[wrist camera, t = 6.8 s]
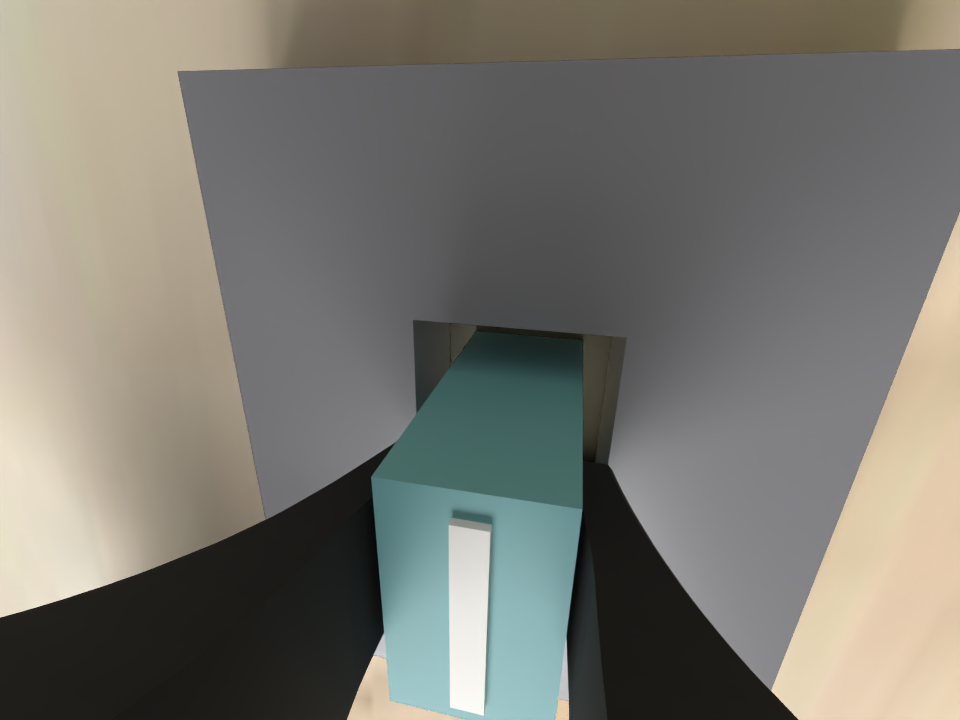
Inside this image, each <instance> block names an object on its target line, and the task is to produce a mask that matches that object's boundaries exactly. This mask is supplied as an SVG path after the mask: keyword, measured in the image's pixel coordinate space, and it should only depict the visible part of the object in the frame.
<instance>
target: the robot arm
mask: <svg viewBox="0 0 960 720" xmlns="http://www.w3.org/2000/svg"><path fill="white" fill-rule="evenodd" d="M395 443H396V442H395ZM395 443H394V444H395ZM394 444H392V445H391V446H389V447H387V448H386V449H384V450H383V451H381V452H380V453H378V454H377V455H375V456H373V457H372V458H370V459H369V460H367V461H366V462H364V463H363V464H361V465H359V466H358V467H356V468H355V469H353V470H352V471H350V472H348V473H347V474H345V475H344V476H342V477H340V478H339V479H337V480H336V481H334V482H332V483H331V484H329V485H327V486H326V487H324V488H322V489H320V490H319V491H317V492H315V493H313V494H312V495H310V496H308V497H306V498H305V499H303V500H301V501H299V502H298V503H296V504H294V505H292V506H291V507H289V508H287V509H285V510H284V511H282V512H280V513H278V514H276V515H274V516H272V517H270V518H268V519H266V520H264V521H262V522H260V523H258V524H256V525H254V526H252V527H250V528H248V529H246V530H243V531H241V532H239V533H237V534H235V535H233V536H231V537H229V538H226V539H224V540H222V541H220V542H217V543H215V544H213V545H210V546H208V547H205V548H203V549H200V550H198V551H195V552H193V553H190V554H188V555H186V556H183V557H181V558H178V559H176V560H173V561H171V562H168V563H166V564H163V565H161V566H158V567H156V568H153V569H151V570H148V571H145V572H143V573H140V574H137V575H134V576H131V577H129V578H126V579H123V580H120V581H117V582H114V583H112V584H109V585H106V586H103V587H100V588H97V589H94V590H91V591H88V592H84V593H81V594H78V595H75V596H72V597H69V598H66V599H63V600H60V601H56V602H53V603H50V604H47V605H43V606H40V607H37V608H33V609H30V610H26V611H23V612H19V613H16V614H12V615H8V616H5V617H1V618H0V720H347V717H348V715H349V712H350V709H351V707H352V704H353V702H354V699H355V696H356V694H357V691H358V688H359V686H360V684H361V681H362V679H363V677H364V675H365V672H366V670H367V668H368V665H369V663H370V661H371V659H372V657H373V655H374V653H375V651H376V649H377V646H378V644H379V642H380V640H381V638H382V636H383V634H384V624H383V612H382V600H381V588H380V576H379V564H378V553H377V541H376V529H375V517H374V505H373V493H372V481H371V476H372V475H373V474H374V472H375V471H376V469H377V468H378V467H379V465H380V464H381V463H382V461H383V460H384V458H385V457H386V456H387V454H388V453H389V451H390V450H391V449H392V447H393V446H394ZM566 641H567V666H568V691H569V720H798V719H797V718H796V717H795V716H794V715H793V714H792V713H791V711H790V710H789V709H788V708H787V707H786V706H785V705H784V704H783V703H782V702H781V701H780V700H779V699H778V698H777V697H776V696H775V695H774V694H773V693H772V692H771V690H770V689H769V688H768V687H767V686H766V685H765V684H764V683H763V682H762V681H761V680H760V679H759V678H758V677H757V676H756V675H755V674H754V673H753V672H752V670H751V669H750V668H749V667H748V666H747V665H746V664H745V662H744V661H743V660H742V659H741V658H740V657H739V656H738V654H737V653H736V652H735V651H734V650H733V649H732V648H731V646H730V645H729V644H728V643H727V642H726V641H725V639H724V638H723V637H722V636H721V635H720V633H719V632H718V631H717V630H716V628H715V627H714V626H713V625H712V624H711V622H710V621H709V620H708V619H707V617H706V616H705V615H704V614H703V612H702V611H701V610H700V609H699V607H698V606H697V605H696V603H695V602H694V601H693V600H692V598H691V597H690V596H689V594H688V593H687V592H686V590H685V589H684V588H683V586H682V585H681V583H680V582H679V581H678V579H677V578H676V576H675V575H674V574H673V572H672V571H671V569H670V568H669V566H668V565H667V564H666V562H665V561H664V559H663V558H662V556H661V555H660V553H659V552H658V550H657V549H656V547H655V546H654V544H653V542H652V541H651V539H650V538H649V536H648V534H647V533H646V531H645V530H644V528H643V526H642V525H641V523H640V522H639V520H638V518H637V516H636V515H635V513H634V511H633V510H632V508H631V506H630V504H629V502H628V500H627V499H626V497H625V495H624V493H623V491H622V489H621V487H620V485H619V483H618V481H617V479H616V477H615V475H614V472H613V470H612V469H611V468H610V466H609V465H608V464H601V463H594V462H587V461H583V510H582V517H581V525H580V533H579V541H578V548H577V556H576V564H575V572H574V579H573V587H572V595H571V603H570V610H569V618H568V626H567V634H566Z"/></svg>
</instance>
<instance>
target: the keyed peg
mask: <svg viewBox="0 0 960 720" xmlns="http://www.w3.org/2000/svg"><path fill="white" fill-rule="evenodd" d="M371 481H372V493H373V505H374V517H375V529H376V541H377V553H378V564H379V576H380V588H381V600H382V612H383V624H384V636H385V648H386V659H387V671H388V683H389V695H390V701H393V702H397V703H401V704H405V705H409V706H413V707H417V708H421V709H425V710H429V711H433V712H437V713H441V714H445V715H449V716H453V717H457V718H461V719H465V720H555V719H556V711H557V703H558V696H559V688H560V680H561V672H562V665H563V657H564V649H565V641H566V634H567V626H568V618H569V610H570V603H571V595H572V587H573V579H574V572H575V564H576V556H577V548H578V541H579V533H580V525H581V517H582V510H583V340H572V339H560V338H549V337H537V336H525V335H513V334H502V333H490V332H478V331H476V332H475V333H474V335H473V336H472V337H471V339H470V340H469V342H468V343H467V344H466V346H465V347H464V348H463V350H462V351H461V353H460V354H459V355H458V357H457V358H456V360H455V361H454V362H453V364H452V365H451V367H450V368H449V369H448V371H447V372H446V374H445V375H444V376H443V378H442V379H441V380H440V382H439V383H438V385H437V386H436V387H435V389H434V390H433V392H432V393H431V394H430V396H429V397H428V399H427V400H426V401H425V403H424V404H423V406H422V407H421V408H420V410H419V411H418V412H417V414H416V415H415V417H414V418H413V419H412V421H411V422H410V424H409V425H408V426H407V428H406V429H405V431H404V432H403V433H402V435H401V436H400V437H399V439H398V440H397V442H396V443H395V444H394V446H393V447H392V449H391V450H390V451H389V453H388V454H387V456H386V457H385V458H384V460H383V461H382V463H381V464H380V465H379V467H378V468H377V469H376V471H375V472H374V474H373V475H372V476H371Z"/></svg>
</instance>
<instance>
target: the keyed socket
mask: <svg viewBox="0 0 960 720" xmlns="http://www.w3.org/2000/svg"><path fill="white" fill-rule="evenodd" d="M178 76H179V81H180V86H181V91H182V96H183V102H184V107H185V112H186V117H187V122H188V127H189V132H190V137H191V142H192V147H193V152H194V158H195V163H196V168H197V173H198V178H199V183H200V188H201V193H202V198H203V203H204V208H205V214H206V219H207V224H208V229H209V234H210V239H211V244H212V249H213V254H214V259H215V264H216V270H217V275H218V280H219V285H220V290H221V295H222V300H223V305H224V310H225V315H226V320H227V326H228V331H229V336H230V341H231V346H232V351H233V356H234V361H235V366H236V371H237V376H238V382H239V387H240V392H241V397H242V402H243V407H244V412H245V417H246V422H247V427H248V432H249V438H250V443H251V448H252V453H253V458H254V463H255V468H256V473H257V478H258V483H259V488H260V494H261V499H262V504H263V509H264V514H265V519H268V518H270V517H272V516H274V515H276V514H278V513H280V512H282V511H284V510H285V509H287V508H289V507H291V506H292V505H294V504H296V503H298V502H299V501H301V500H303V499H305V498H306V497H308V496H310V495H312V494H313V493H315V492H317V491H319V490H320V489H322V488H324V487H326V486H327V485H329V484H331V483H332V482H334V481H336V480H337V479H339V478H340V477H342V476H344V475H345V474H347V473H348V472H350V471H352V470H353V469H355V468H356V467H358V466H359V465H361V464H363V463H364V462H366V461H367V460H369V459H370V458H372V457H373V456H375V455H377V454H378V453H380V452H381V451H383V450H384V449H386V448H387V447H389V446H391V445H392V444H394V443H395V442H397V440H398V439H399V437H400V436H401V435H402V433H403V432H404V431H405V429H406V428H407V426H408V425H409V424H410V422H411V421H412V419H413V418H414V417H415V415H416V414H417V412H418V411H419V410H420V408H421V407H422V406H423V404H424V403H425V401H426V400H427V399H428V397H429V396H430V394H431V393H432V392H433V390H434V389H435V387H436V386H437V385H438V383H439V382H440V380H441V379H442V378H443V376H444V375H445V374H446V372H447V371H448V369H449V368H450V323H457V324H469V325H481V326H493V327H505V328H518V329H530V330H542V331H554V332H566V333H578V334H590V335H602V336H612V341H611V348H610V356H609V363H608V370H607V378H606V385H605V393H604V400H603V407H602V415H601V422H600V430H599V437H598V444H597V452H596V459H595V463H601V464H608V465H609V466H610V468H611V469H612V470H613V472H614V475H615V477H616V479H617V481H618V483H619V485H620V487H621V489H622V491H623V493H624V495H625V497H626V499H627V500H628V502H629V504H630V506H631V508H632V510H633V511H634V513H635V515H636V516H637V518H638V520H639V522H640V523H641V525H642V526H643V528H644V530H645V531H646V533H647V534H648V536H649V538H650V539H651V541H652V542H653V544H654V546H655V547H656V549H657V550H658V552H659V553H660V555H661V556H662V558H663V559H664V561H665V562H666V564H667V565H668V566H669V568H670V569H671V571H672V572H673V574H674V575H675V576H676V578H677V579H678V581H679V582H680V583H681V585H682V586H683V588H684V589H685V590H686V592H687V593H688V594H689V596H690V597H691V598H692V600H693V601H694V602H695V603H696V605H697V606H698V607H699V609H700V610H701V611H702V612H703V614H704V615H705V616H706V617H707V619H708V620H709V621H710V622H711V624H712V625H713V626H714V627H715V628H716V630H717V631H718V632H719V633H720V635H721V636H722V637H723V638H724V639H725V641H726V642H727V643H728V644H729V645H730V646H731V648H732V649H733V650H734V651H735V652H736V653H737V654H738V656H739V657H740V658H741V659H742V660H743V661H744V662H745V664H746V665H747V666H748V667H749V668H750V669H751V670H752V672H753V673H754V674H755V675H756V676H757V677H758V678H759V679H760V680H761V681H762V682H763V683H764V684H765V685H766V686H767V687H768V688H769V689H770V690H771V689H772V687H773V684H774V681H775V679H776V676H777V674H778V671H779V669H780V666H781V664H782V661H783V659H784V656H785V654H786V651H787V648H788V646H789V643H790V641H791V638H792V636H793V633H794V631H795V628H796V626H797V623H798V621H799V618H800V616H801V613H802V610H803V608H804V605H805V603H806V600H807V598H808V595H809V593H810V590H811V588H812V585H813V583H814V580H815V577H816V575H817V572H818V570H819V567H820V565H821V562H822V560H823V557H824V555H825V552H826V550H827V547H828V545H829V542H830V539H831V537H832V534H833V532H834V529H835V527H836V524H837V522H838V519H839V517H840V514H841V512H842V509H843V507H844V504H845V501H846V499H847V496H848V494H849V491H850V489H851V486H852V484H853V481H854V479H855V476H856V474H857V471H858V468H859V466H860V463H861V461H862V458H863V456H864V453H865V451H866V448H867V446H868V443H869V441H870V438H871V436H872V433H873V430H874V428H875V425H876V423H877V420H878V418H879V415H880V413H881V410H882V408H883V405H884V403H885V400H886V397H887V395H888V392H889V390H890V387H891V385H892V382H893V380H894V377H895V375H896V372H897V370H898V367H899V365H900V362H901V359H902V357H903V354H904V352H905V349H906V347H907V344H908V342H909V339H910V337H911V334H912V332H913V329H914V326H915V324H916V321H917V319H918V316H919V314H920V311H921V309H922V306H923V304H924V301H925V299H926V296H927V294H928V291H929V288H930V286H931V283H932V281H933V278H934V276H935V273H936V271H937V268H938V266H939V263H940V261H941V258H942V255H943V253H944V250H945V248H946V245H947V243H948V240H949V238H950V235H951V233H952V230H953V228H954V225H955V223H956V220H957V217H958V215H959V212H960V49H946V50H911V51H876V52H841V53H806V54H771V55H736V56H701V57H666V58H631V59H596V60H561V61H526V62H491V63H455V64H420V65H385V66H350V67H315V68H280V69H245V70H210V71H178ZM373 656H377V657H381V658H386V648H385V636H384V634H383V636H382V638H381V640H380V642H379V644H378V646H377V649H376V651H375V653H374V655H373ZM558 699H561V700H565V701H569V691H568V666H567V641H565V649H564V657H563V665H562V672H561V680H560V688H559V696H558Z"/></svg>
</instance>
